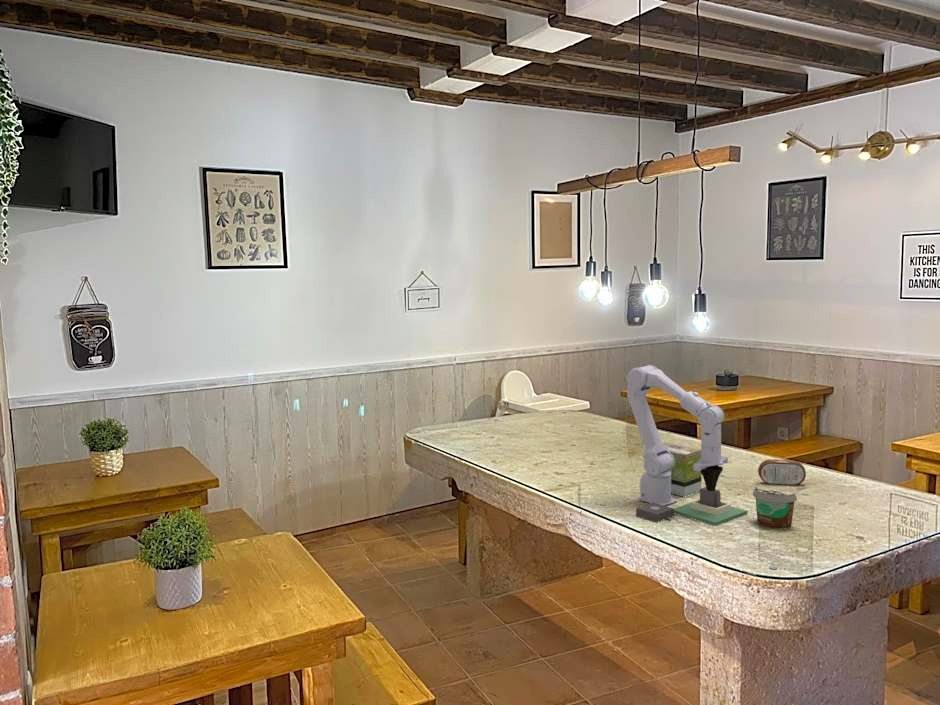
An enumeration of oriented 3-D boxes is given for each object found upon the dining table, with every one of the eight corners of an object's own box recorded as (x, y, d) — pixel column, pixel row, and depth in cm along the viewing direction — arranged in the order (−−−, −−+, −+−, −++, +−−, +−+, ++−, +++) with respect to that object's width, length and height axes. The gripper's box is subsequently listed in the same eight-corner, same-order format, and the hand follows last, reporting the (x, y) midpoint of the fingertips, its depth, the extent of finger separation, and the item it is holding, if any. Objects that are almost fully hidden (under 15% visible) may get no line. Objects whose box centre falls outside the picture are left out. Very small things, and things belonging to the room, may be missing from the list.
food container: (745, 523, 214) (745, 490, 213) (754, 518, 219) (754, 485, 218) (787, 533, 206) (788, 498, 205) (796, 527, 210) (797, 493, 209)
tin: (804, 484, 251) (805, 460, 250) (806, 486, 248) (806, 462, 247) (757, 482, 255) (758, 458, 255) (758, 484, 252) (759, 460, 252)
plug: (699, 507, 226) (699, 488, 225) (705, 505, 228) (705, 487, 227) (715, 512, 221) (715, 492, 221) (721, 510, 223) (721, 491, 223)
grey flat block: (636, 515, 224) (636, 507, 224) (653, 510, 229) (653, 502, 228) (662, 524, 216) (662, 515, 216) (680, 518, 221) (680, 509, 220)
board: (670, 512, 226) (670, 503, 226) (702, 501, 235) (702, 492, 235) (715, 525, 213) (715, 515, 213) (747, 513, 223) (747, 504, 222)
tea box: (647, 488, 251) (647, 446, 250) (664, 482, 258) (664, 441, 256) (685, 498, 240) (685, 453, 238) (702, 491, 246) (702, 448, 245)
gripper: (707, 452, 215) (707, 497, 217) (736, 444, 224) (736, 488, 225) (687, 448, 221) (687, 492, 222) (716, 440, 229) (716, 483, 231)
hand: (710, 489), depth 224 cm, fingers closed
